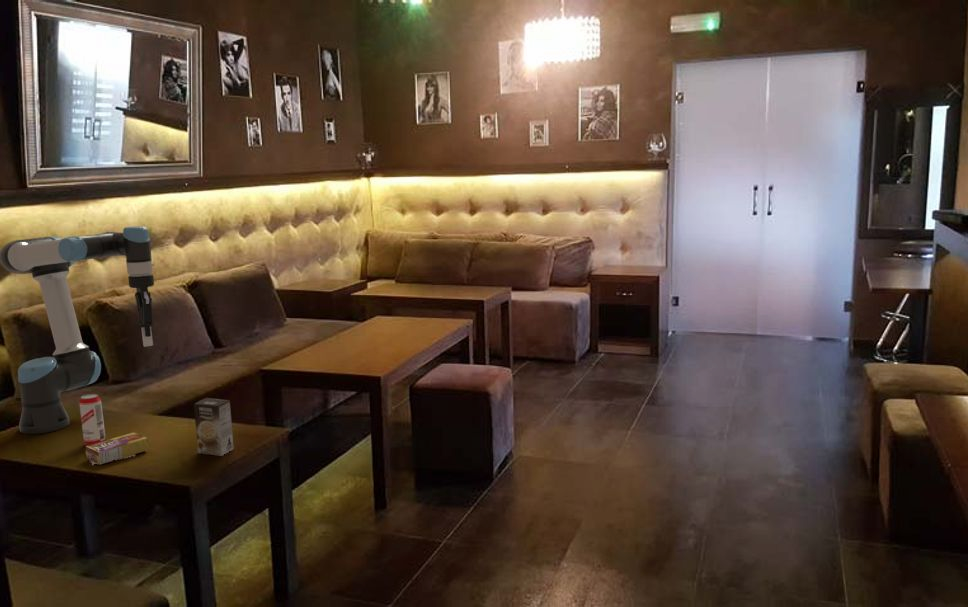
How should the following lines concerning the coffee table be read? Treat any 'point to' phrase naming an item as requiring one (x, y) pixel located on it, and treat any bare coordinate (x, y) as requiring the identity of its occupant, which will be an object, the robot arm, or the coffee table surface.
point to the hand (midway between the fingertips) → (148, 345)
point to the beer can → (92, 419)
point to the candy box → (117, 448)
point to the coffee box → (213, 426)
